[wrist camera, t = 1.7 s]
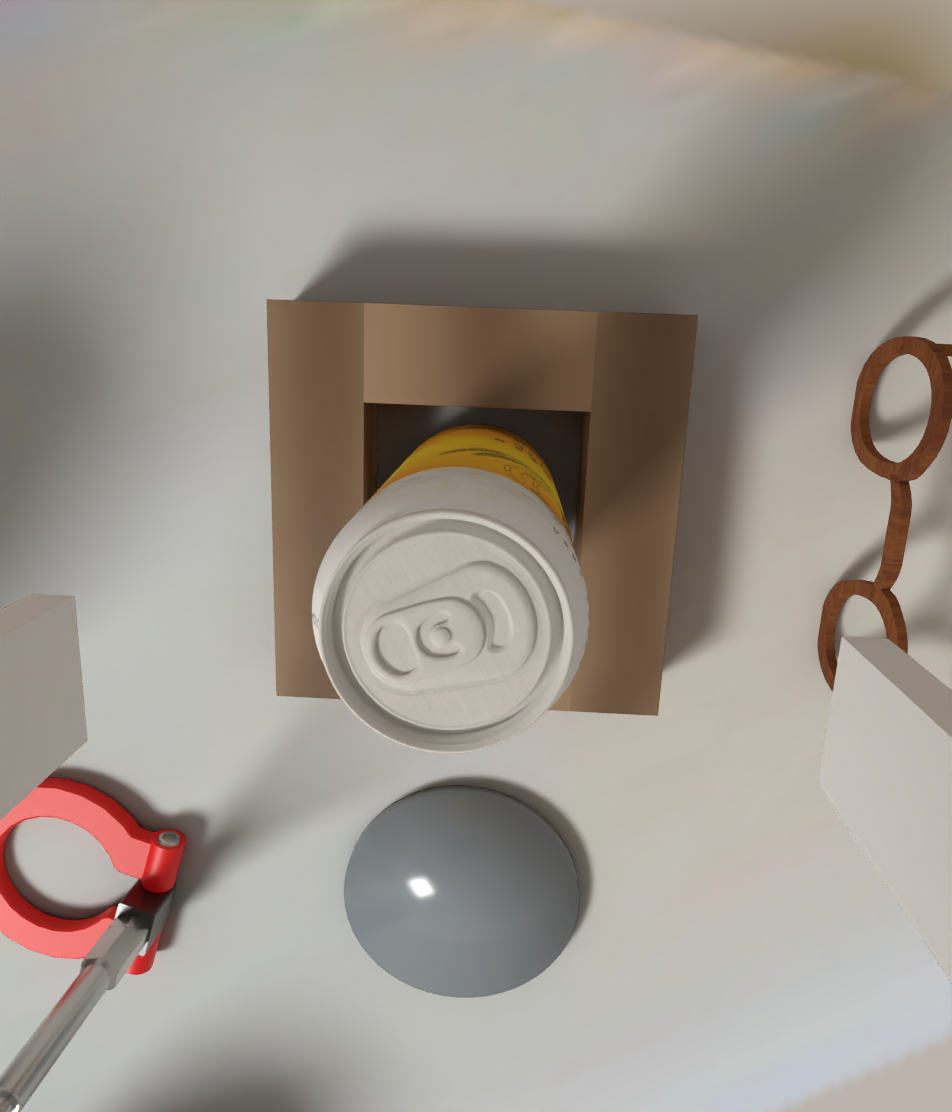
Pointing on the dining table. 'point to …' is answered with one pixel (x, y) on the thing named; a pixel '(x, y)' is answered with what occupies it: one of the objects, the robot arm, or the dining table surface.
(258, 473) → the dining table surface
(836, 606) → the glasses
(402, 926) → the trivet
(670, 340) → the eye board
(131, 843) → the tow hook
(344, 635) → the beer can
